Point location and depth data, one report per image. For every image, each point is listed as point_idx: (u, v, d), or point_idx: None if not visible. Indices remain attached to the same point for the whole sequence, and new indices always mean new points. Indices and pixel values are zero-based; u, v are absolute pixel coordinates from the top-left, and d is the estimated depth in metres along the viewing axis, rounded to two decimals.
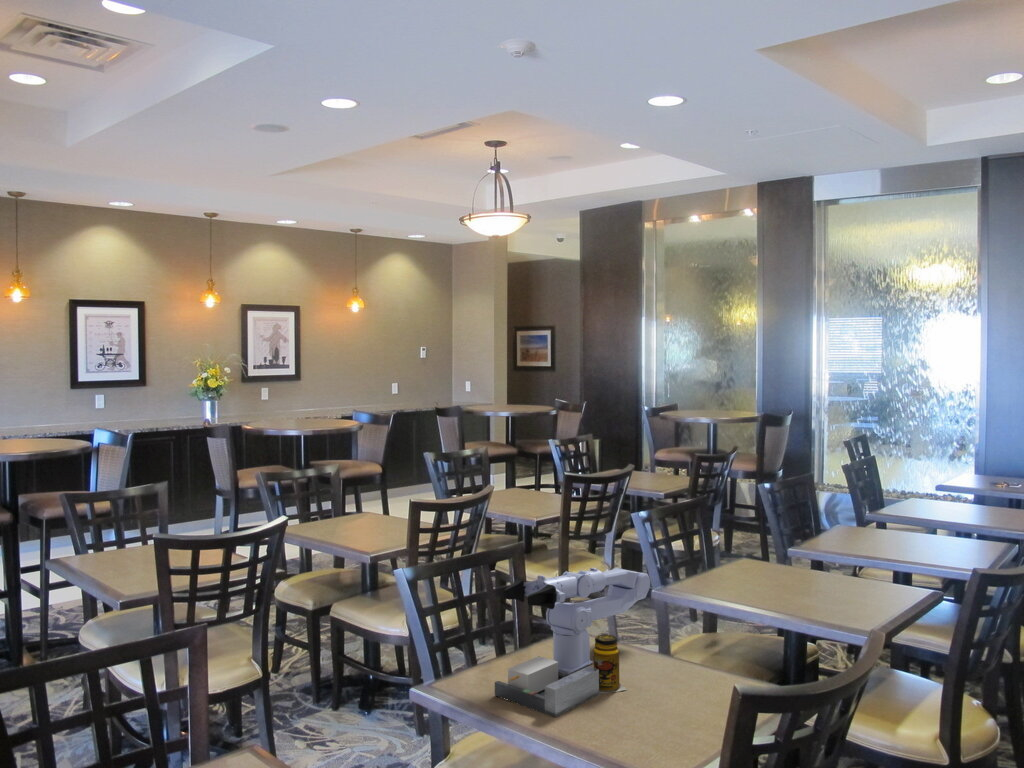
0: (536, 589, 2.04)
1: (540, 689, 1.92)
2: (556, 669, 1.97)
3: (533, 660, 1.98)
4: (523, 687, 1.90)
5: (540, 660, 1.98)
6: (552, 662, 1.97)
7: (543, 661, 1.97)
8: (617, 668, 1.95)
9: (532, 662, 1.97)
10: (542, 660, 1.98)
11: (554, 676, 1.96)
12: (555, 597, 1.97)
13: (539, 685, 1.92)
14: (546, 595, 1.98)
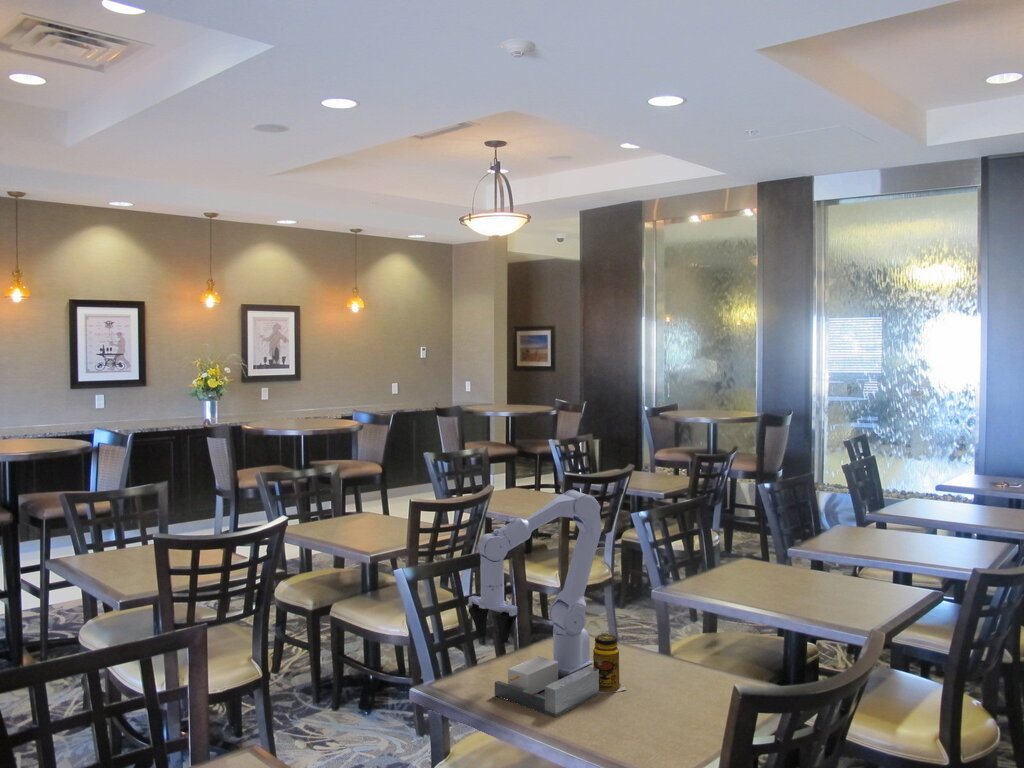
0: None
1: (540, 689, 1.92)
2: (556, 669, 1.97)
3: (533, 660, 1.98)
4: (523, 687, 1.90)
5: (540, 660, 1.98)
6: (552, 662, 1.97)
7: (543, 661, 1.97)
8: (617, 668, 1.95)
9: (532, 662, 1.97)
10: (542, 660, 1.98)
11: (554, 676, 1.96)
12: (510, 616, 1.99)
13: (539, 685, 1.92)
14: None
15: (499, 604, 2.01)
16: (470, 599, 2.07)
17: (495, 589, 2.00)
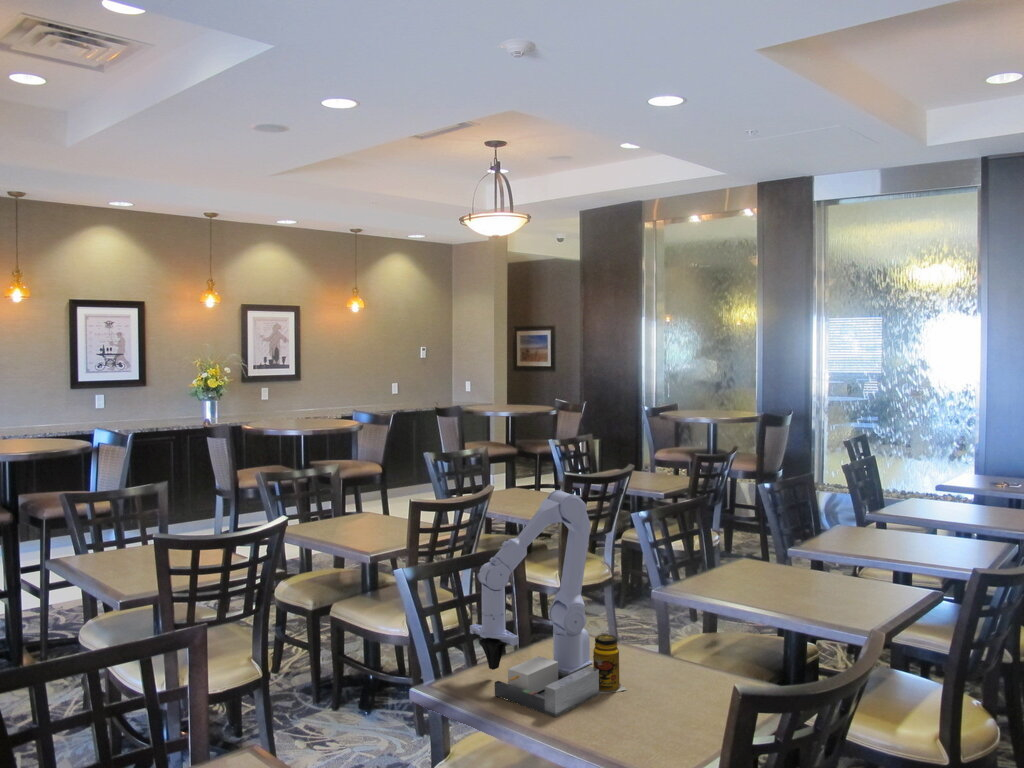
0: None
1: (540, 689, 1.92)
2: (556, 669, 1.97)
3: (533, 660, 1.98)
4: (523, 687, 1.90)
5: (540, 660, 1.98)
6: (552, 662, 1.97)
7: (543, 661, 1.97)
8: (617, 668, 1.95)
9: (532, 662, 1.97)
10: (542, 660, 1.98)
11: (554, 676, 1.96)
12: (501, 642, 2.01)
13: (539, 685, 1.92)
14: None
15: (500, 633, 2.01)
16: (471, 627, 2.07)
17: (496, 618, 2.00)
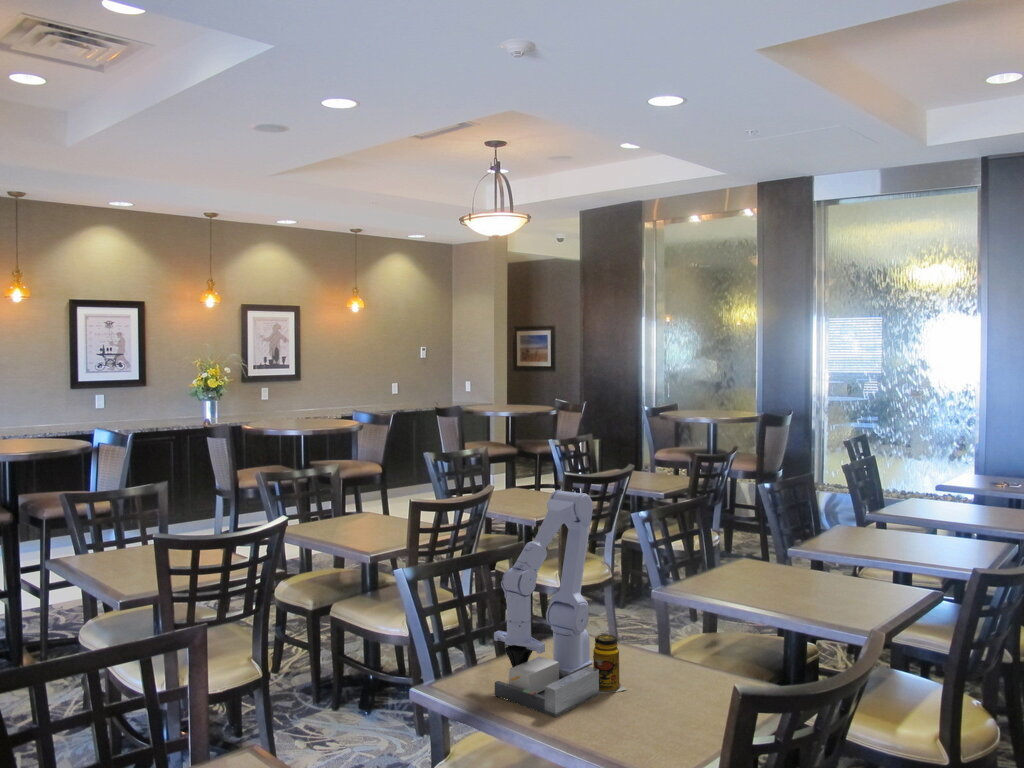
0: None
1: (541, 689, 1.92)
2: (557, 669, 1.96)
3: (533, 660, 1.98)
4: (524, 687, 1.90)
5: (541, 660, 1.98)
6: (553, 662, 1.96)
7: (543, 662, 1.97)
8: (617, 668, 1.95)
9: (533, 662, 1.97)
10: (543, 661, 1.98)
11: (555, 676, 1.96)
12: (527, 649, 1.96)
13: (539, 686, 1.92)
14: None
15: (526, 641, 1.95)
16: (496, 634, 2.01)
17: (522, 625, 1.95)
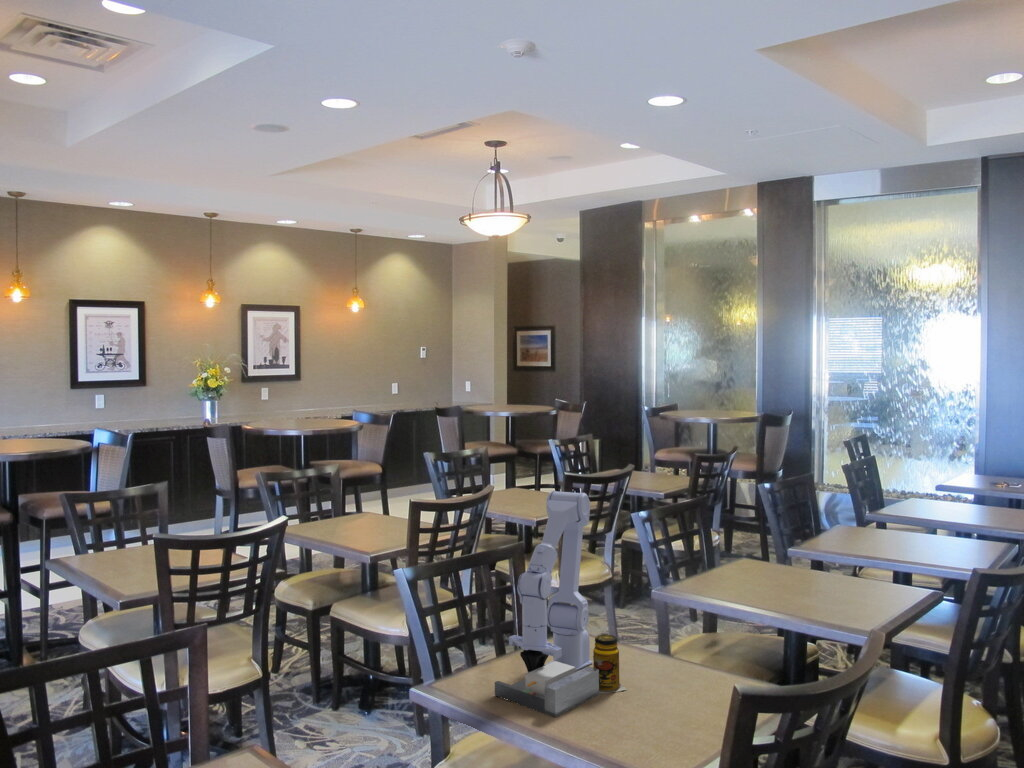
0: None
1: None
2: None
3: (549, 665, 1.95)
4: (540, 693, 1.86)
5: (557, 665, 1.95)
6: (569, 667, 1.93)
7: (560, 667, 1.93)
8: (617, 668, 1.95)
9: (549, 667, 1.93)
10: (559, 665, 1.94)
11: None
12: (543, 654, 1.93)
13: None
14: None
15: (542, 645, 1.92)
16: (511, 639, 1.98)
17: (538, 630, 1.92)
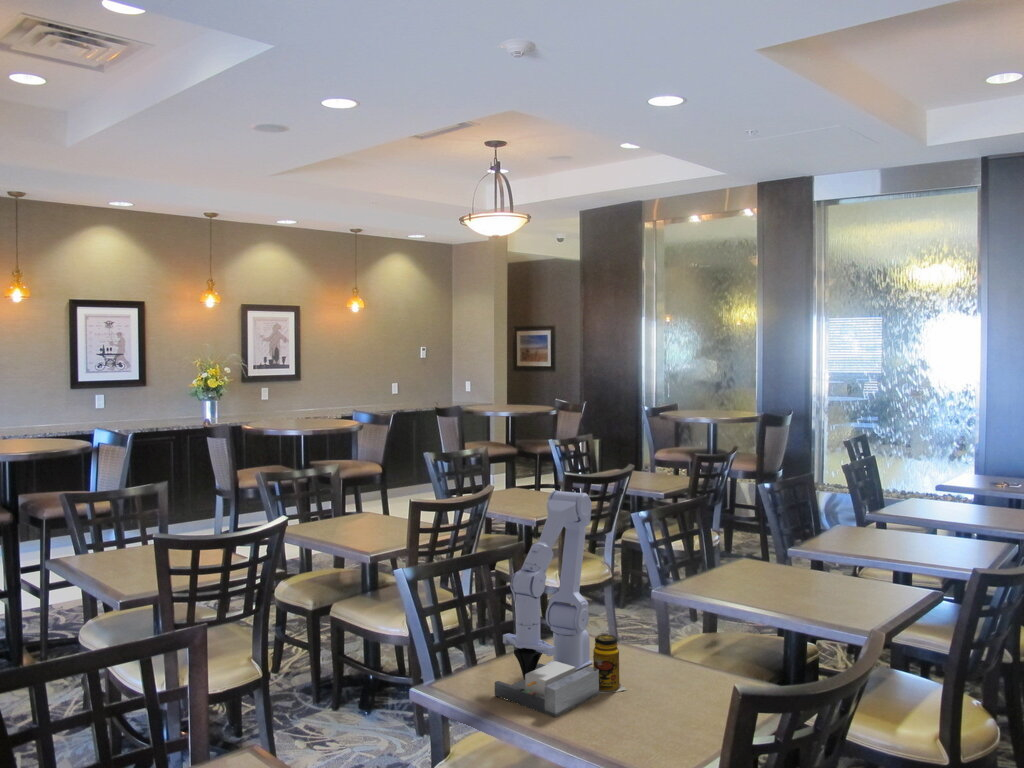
0: None
1: None
2: None
3: (549, 665, 1.95)
4: (540, 693, 1.86)
5: (557, 665, 1.95)
6: (569, 667, 1.93)
7: (560, 667, 1.93)
8: (617, 668, 1.95)
9: (549, 667, 1.93)
10: (559, 665, 1.94)
11: None
12: (536, 652, 1.94)
13: None
14: None
15: (536, 643, 1.93)
16: (504, 637, 1.99)
17: (532, 628, 1.93)
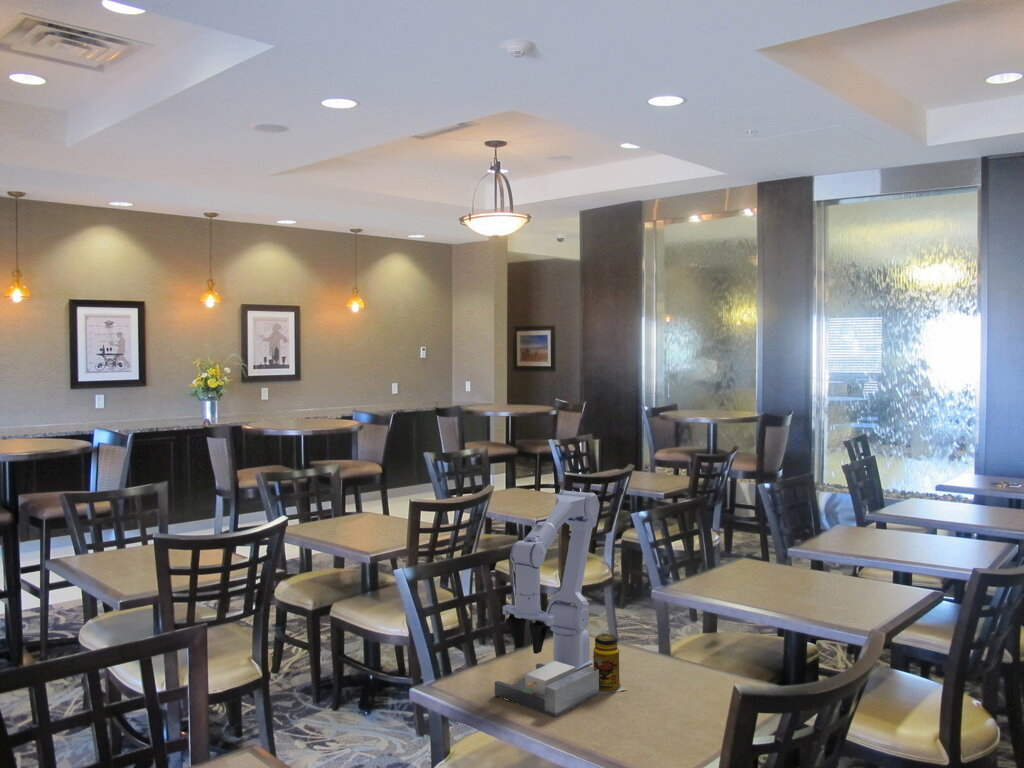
0: None
1: None
2: None
3: (549, 665, 1.95)
4: (540, 693, 1.86)
5: (557, 665, 1.95)
6: (569, 667, 1.93)
7: (560, 667, 1.93)
8: (617, 668, 1.95)
9: (549, 667, 1.93)
10: (559, 665, 1.94)
11: None
12: (544, 625, 1.92)
13: None
14: None
15: (535, 613, 1.93)
16: (504, 608, 1.99)
17: (531, 598, 1.93)
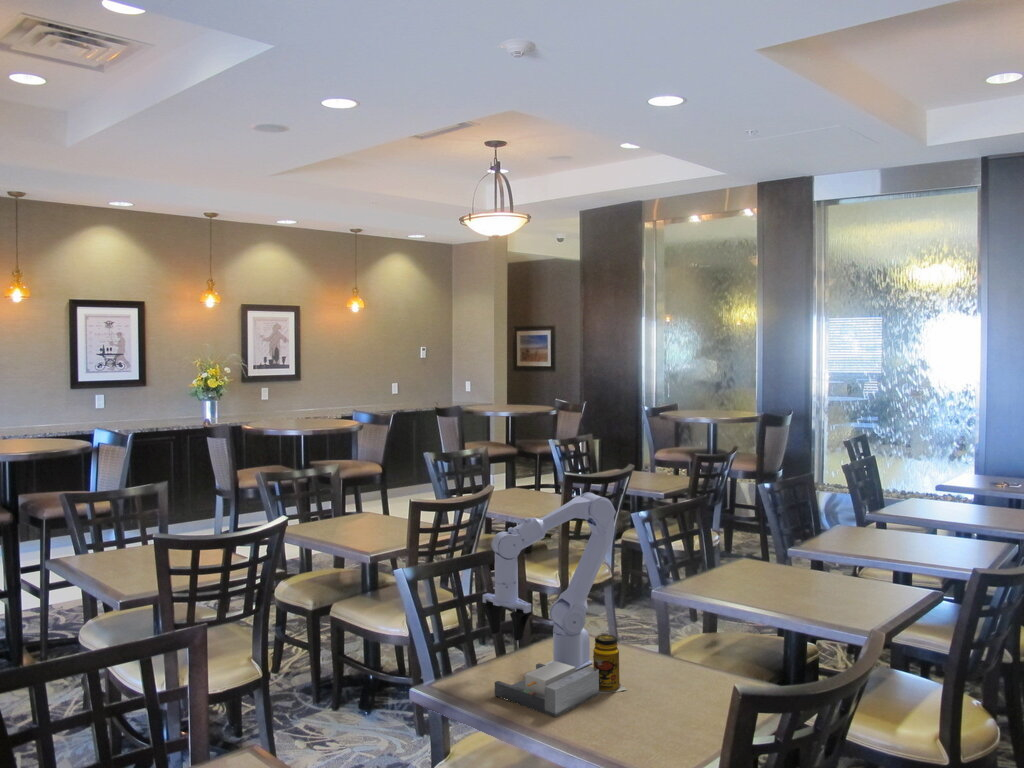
0: None
1: None
2: None
3: (549, 665, 1.95)
4: (540, 693, 1.86)
5: (557, 665, 1.95)
6: (569, 667, 1.93)
7: (560, 667, 1.93)
8: (617, 668, 1.95)
9: (549, 667, 1.93)
10: (559, 665, 1.94)
11: None
12: (525, 613, 2.01)
13: None
14: None
15: (513, 601, 2.03)
16: (484, 596, 2.09)
17: (509, 586, 2.03)
